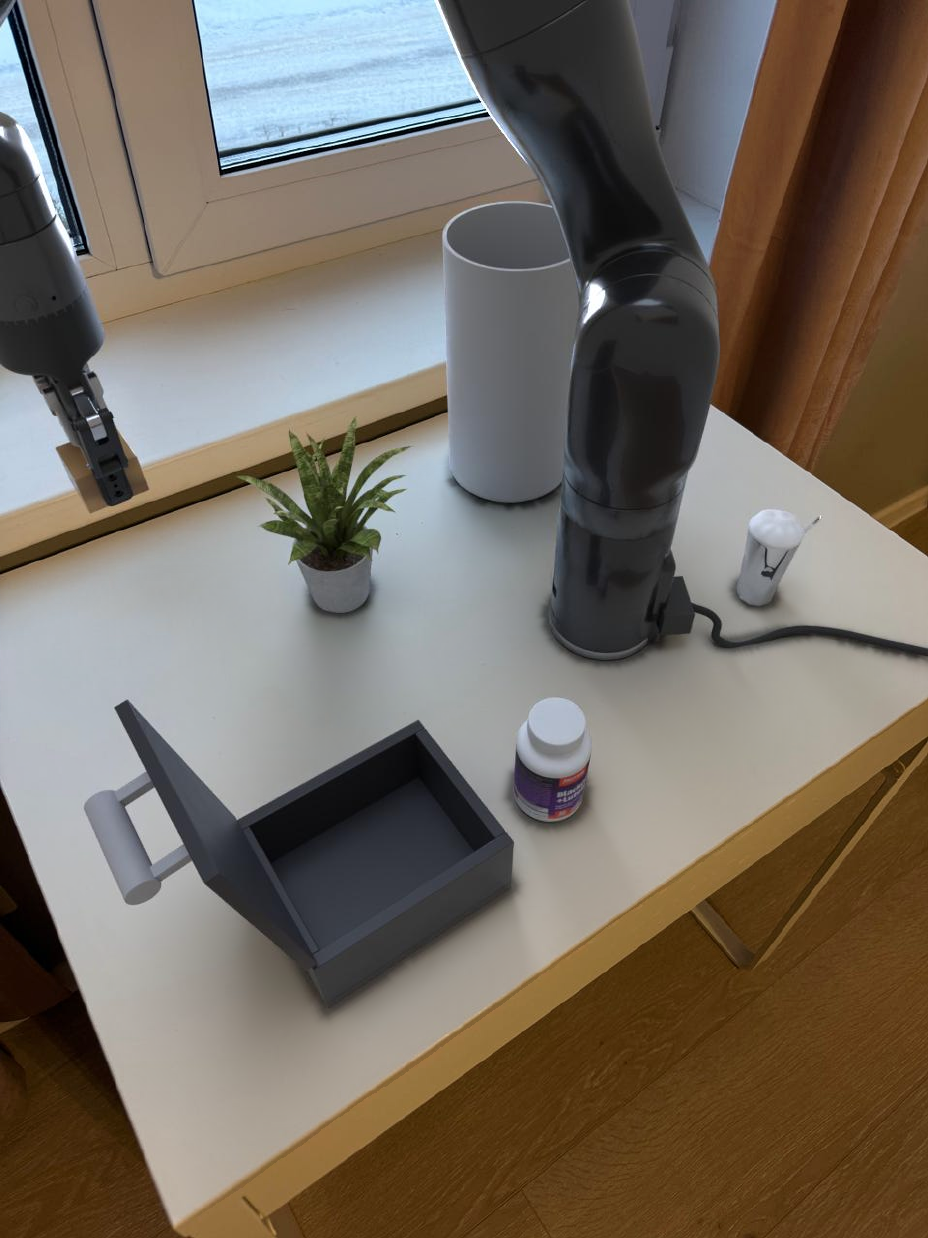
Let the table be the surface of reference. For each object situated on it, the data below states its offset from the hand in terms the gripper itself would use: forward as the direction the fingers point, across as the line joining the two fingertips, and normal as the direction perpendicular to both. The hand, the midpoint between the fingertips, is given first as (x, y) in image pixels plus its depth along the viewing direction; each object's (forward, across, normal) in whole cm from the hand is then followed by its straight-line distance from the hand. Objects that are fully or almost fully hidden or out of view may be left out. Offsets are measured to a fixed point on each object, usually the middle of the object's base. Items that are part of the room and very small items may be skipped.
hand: (107, 481), depth 73 cm
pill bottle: (+14, -38, -17) cm, 44 cm away
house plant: (+14, -11, -15) cm, 23 cm away
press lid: (-2, -36, +5) cm, 37 cm away
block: (0, 0, 0) cm, 0 cm away
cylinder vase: (+14, -4, -38) cm, 40 cm away
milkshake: (+14, -32, -46) cm, 58 cm away
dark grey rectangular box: (+13, -36, -3) cm, 39 cm away
